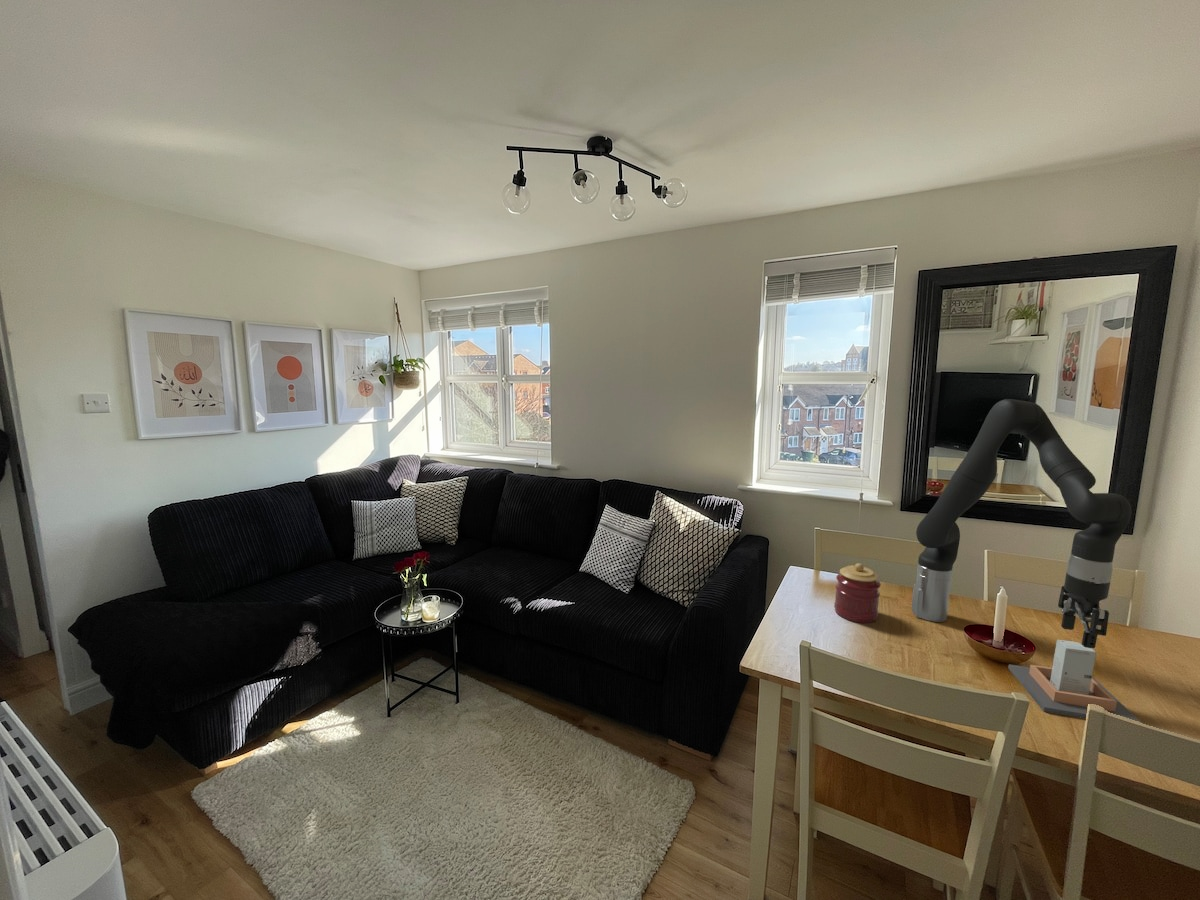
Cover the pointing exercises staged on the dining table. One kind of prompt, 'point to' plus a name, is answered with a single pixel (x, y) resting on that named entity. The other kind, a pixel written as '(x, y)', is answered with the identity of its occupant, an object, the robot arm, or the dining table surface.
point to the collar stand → (1065, 694)
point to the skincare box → (1072, 667)
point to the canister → (857, 594)
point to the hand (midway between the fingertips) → (1077, 637)
